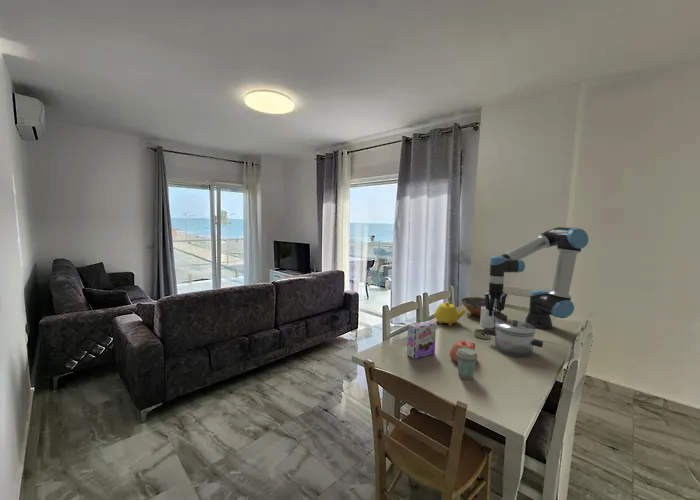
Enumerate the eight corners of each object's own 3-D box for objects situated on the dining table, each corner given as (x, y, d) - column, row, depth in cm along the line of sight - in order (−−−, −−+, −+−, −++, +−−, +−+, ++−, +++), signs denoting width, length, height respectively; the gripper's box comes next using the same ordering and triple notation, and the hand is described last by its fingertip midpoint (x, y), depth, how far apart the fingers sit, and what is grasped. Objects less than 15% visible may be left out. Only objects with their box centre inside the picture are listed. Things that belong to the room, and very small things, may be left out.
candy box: (414, 360, 149) (415, 328, 148) (406, 355, 155) (407, 324, 153) (435, 354, 156) (436, 323, 154) (427, 349, 161) (428, 320, 159)
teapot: (467, 322, 203) (468, 302, 201) (463, 329, 190) (464, 308, 188) (438, 317, 213) (438, 298, 212) (431, 323, 200) (432, 303, 199)
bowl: (454, 314, 219) (455, 301, 218) (470, 307, 236) (471, 295, 235) (489, 323, 201) (490, 309, 200) (504, 315, 218) (505, 301, 216)
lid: (544, 333, 151) (544, 327, 151) (508, 334, 150) (508, 327, 150) (505, 313, 184) (506, 307, 183) (476, 314, 182) (476, 308, 182)
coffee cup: (452, 372, 138) (453, 347, 137) (470, 371, 139) (471, 346, 137) (460, 382, 129) (461, 355, 128) (479, 381, 130) (481, 355, 129)
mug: (488, 330, 188) (489, 312, 187) (475, 327, 194) (476, 308, 193) (496, 326, 196) (497, 308, 195) (483, 322, 202) (484, 305, 201)
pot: (544, 351, 160) (546, 329, 159) (538, 363, 146) (540, 340, 145) (488, 337, 178) (489, 317, 177) (478, 347, 164) (479, 326, 163)
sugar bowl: (444, 357, 153) (445, 337, 151) (466, 352, 158) (467, 333, 157) (461, 368, 141) (462, 347, 140) (484, 363, 146) (485, 343, 145)
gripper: (505, 281, 181) (503, 318, 184) (480, 281, 180) (478, 319, 183) (513, 283, 174) (510, 323, 177) (486, 284, 173) (484, 323, 175)
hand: (494, 321), depth 180 cm, fingers closed on lid, 3 cm apart
